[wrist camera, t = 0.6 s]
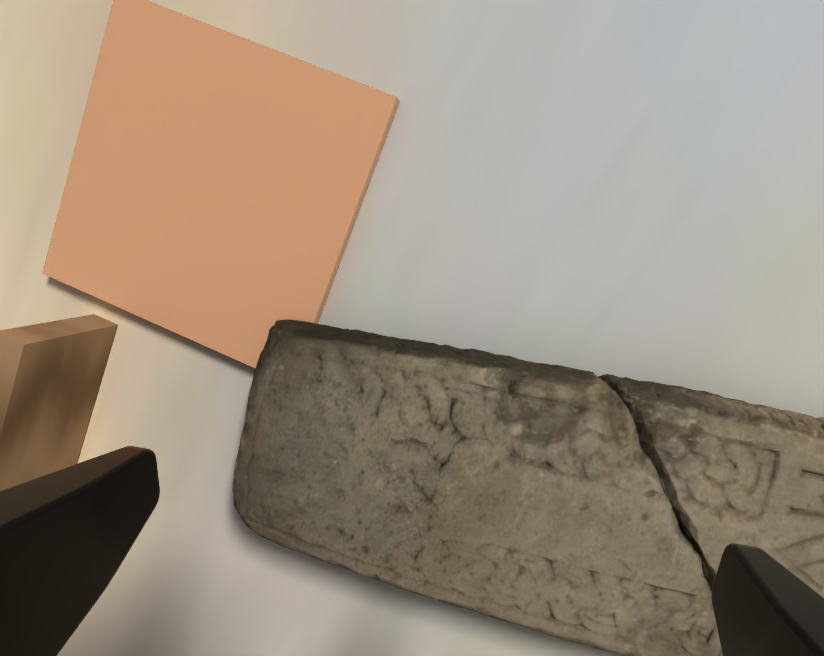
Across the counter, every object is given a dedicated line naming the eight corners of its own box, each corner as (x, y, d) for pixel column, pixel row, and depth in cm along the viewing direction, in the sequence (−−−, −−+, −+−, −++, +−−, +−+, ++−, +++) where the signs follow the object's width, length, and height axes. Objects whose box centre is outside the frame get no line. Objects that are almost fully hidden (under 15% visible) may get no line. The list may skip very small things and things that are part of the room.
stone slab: (257, 299, 21) (1215, 526, 17) (290, 290, 24) (1104, 480, 20) (219, 550, 23) (1064, 810, 19) (255, 512, 26) (986, 727, 22)
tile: (296, 380, 24) (291, 384, 24) (53, 272, 25) (42, 273, 25) (399, 101, 22) (396, 97, 21) (126, -5, 23) (116, -12, 22)
